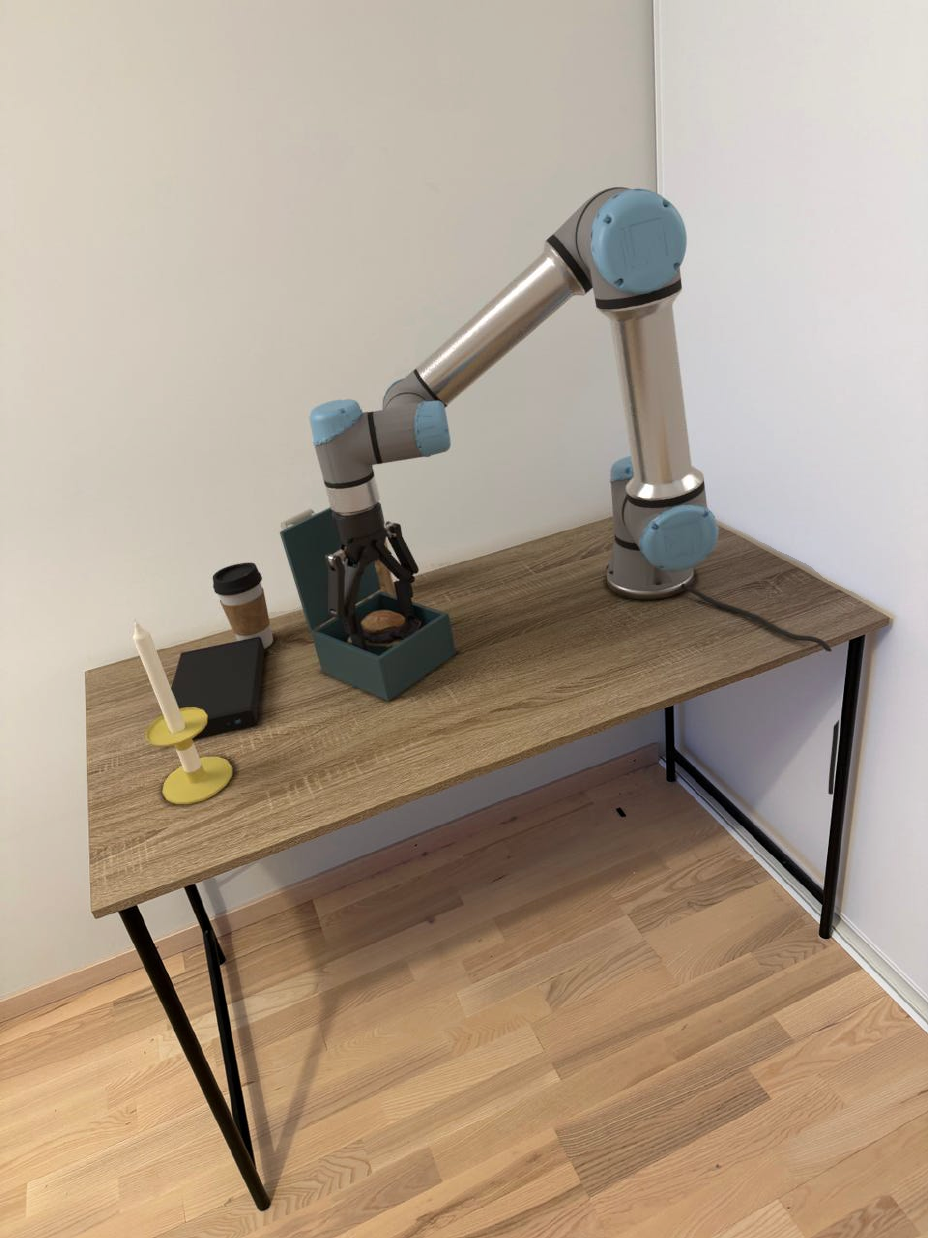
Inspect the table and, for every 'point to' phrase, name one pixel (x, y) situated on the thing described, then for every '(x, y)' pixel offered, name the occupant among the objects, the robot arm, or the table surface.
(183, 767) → the candle
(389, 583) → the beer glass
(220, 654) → the external hard drive
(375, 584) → the bread box lid
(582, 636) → the table surface
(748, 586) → the table surface
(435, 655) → the bread box
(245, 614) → the coffee cup
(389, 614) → the bread roll
